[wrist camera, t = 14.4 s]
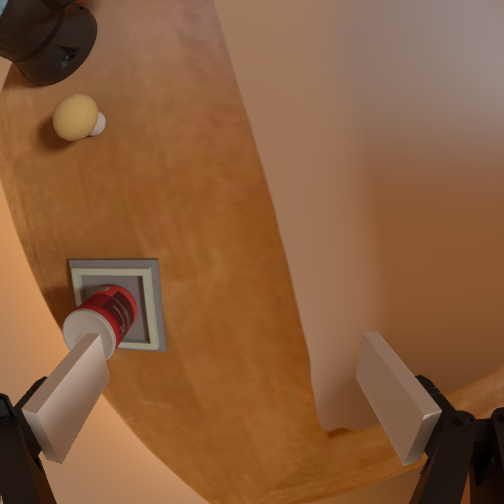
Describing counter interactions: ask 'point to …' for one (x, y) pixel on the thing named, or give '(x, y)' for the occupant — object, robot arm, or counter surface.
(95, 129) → the light bulb
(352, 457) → the counter surface
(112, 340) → the canned food
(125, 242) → the counter surface
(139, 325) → the coaster
